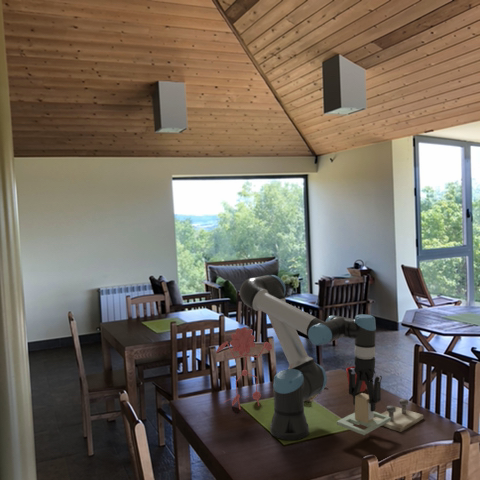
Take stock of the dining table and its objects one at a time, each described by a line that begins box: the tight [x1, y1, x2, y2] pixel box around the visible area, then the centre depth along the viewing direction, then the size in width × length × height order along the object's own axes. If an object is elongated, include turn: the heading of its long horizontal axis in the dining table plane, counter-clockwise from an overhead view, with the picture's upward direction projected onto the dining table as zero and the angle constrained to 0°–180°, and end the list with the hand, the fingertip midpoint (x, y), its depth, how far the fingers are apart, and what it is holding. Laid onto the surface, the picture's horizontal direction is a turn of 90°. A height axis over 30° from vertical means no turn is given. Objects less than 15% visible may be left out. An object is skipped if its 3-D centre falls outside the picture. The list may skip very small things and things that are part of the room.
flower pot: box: [345, 365, 367, 393], centre depth 239 cm, size 11×11×10 cm
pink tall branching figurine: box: [215, 327, 273, 411], centre depth 225 cm, size 15×26×35 cm, turn 110°
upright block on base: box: [336, 392, 391, 436], centre depth 186 cm, size 12×18×10 cm, turn 132°
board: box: [373, 398, 425, 433], centre depth 202 cm, size 13×18×7 cm
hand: (364, 416), depth 187 cm, fingers closed on upright block on base, 5 cm apart
